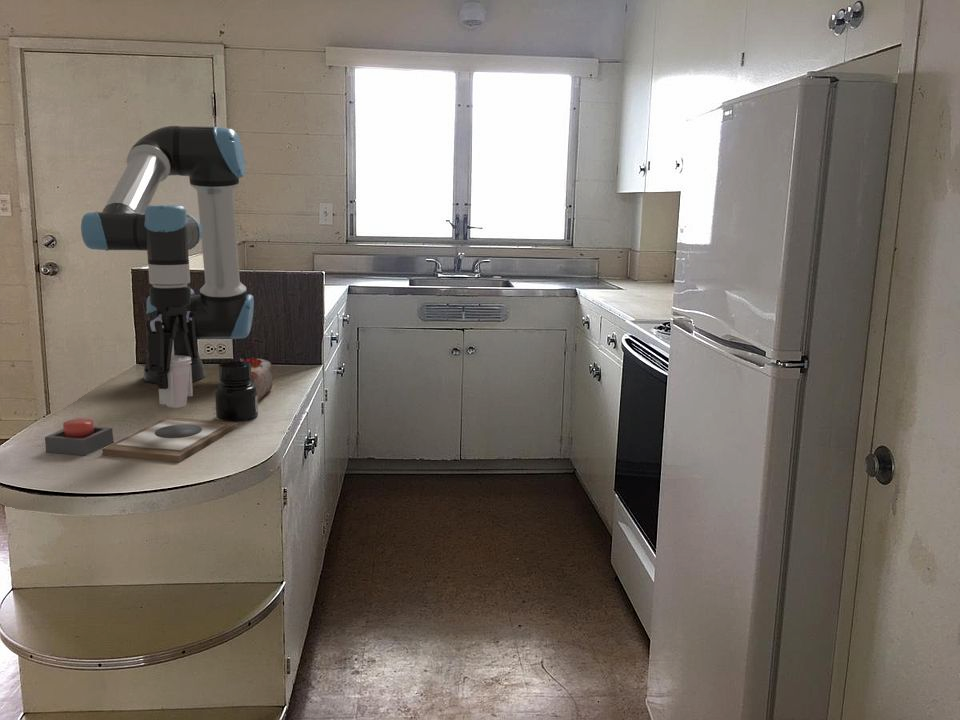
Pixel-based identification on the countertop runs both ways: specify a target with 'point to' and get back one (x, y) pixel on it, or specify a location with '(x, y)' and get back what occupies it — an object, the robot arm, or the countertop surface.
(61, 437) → the button housing
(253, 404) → the ink bottle
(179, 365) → the smoothie
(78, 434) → the button
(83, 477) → the countertop surface
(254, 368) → the food item
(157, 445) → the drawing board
